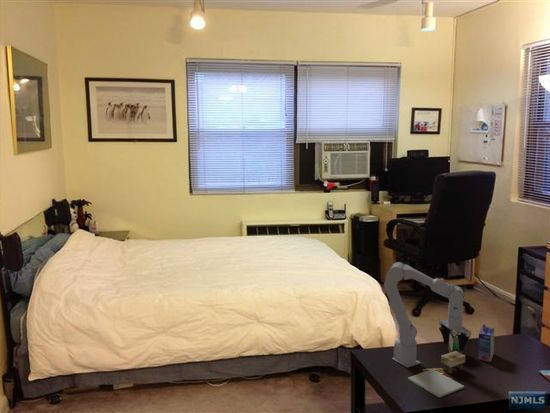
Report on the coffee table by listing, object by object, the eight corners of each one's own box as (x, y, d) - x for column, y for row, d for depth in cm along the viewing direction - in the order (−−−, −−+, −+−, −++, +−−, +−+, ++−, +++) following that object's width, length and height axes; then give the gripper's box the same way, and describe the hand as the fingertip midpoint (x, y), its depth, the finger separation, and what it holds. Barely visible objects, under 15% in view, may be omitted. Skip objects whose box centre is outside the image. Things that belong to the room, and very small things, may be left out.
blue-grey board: (407, 379, 191) (407, 377, 191) (431, 370, 198) (432, 369, 198) (439, 397, 178) (439, 395, 177) (464, 387, 185) (464, 385, 184)
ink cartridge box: (480, 350, 217) (482, 320, 215) (493, 353, 214) (495, 323, 212) (477, 359, 208) (478, 328, 206) (490, 362, 205) (492, 330, 203)
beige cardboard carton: (440, 370, 199) (441, 355, 198) (454, 365, 203) (455, 350, 202) (450, 375, 194) (450, 360, 193) (464, 369, 199) (465, 355, 198)
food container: (467, 361, 207) (468, 339, 205) (452, 359, 208) (453, 338, 207) (461, 348, 219) (462, 328, 217) (447, 347, 220) (448, 327, 219)
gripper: (476, 319, 191) (474, 351, 193) (447, 308, 204) (446, 338, 206) (465, 323, 188) (463, 355, 190) (436, 311, 200) (435, 342, 202)
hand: (453, 346), depth 197 cm, fingers open, 7 cm apart
